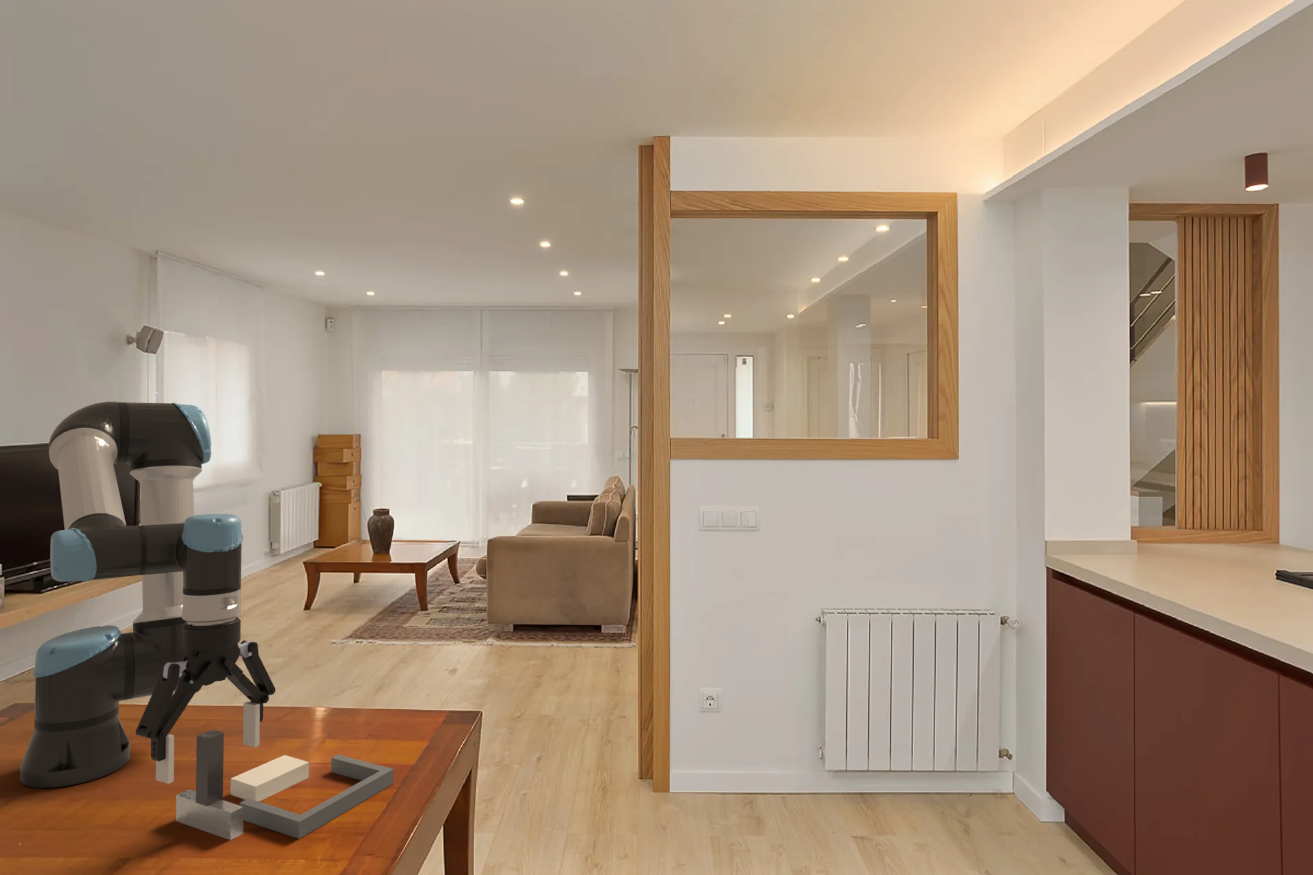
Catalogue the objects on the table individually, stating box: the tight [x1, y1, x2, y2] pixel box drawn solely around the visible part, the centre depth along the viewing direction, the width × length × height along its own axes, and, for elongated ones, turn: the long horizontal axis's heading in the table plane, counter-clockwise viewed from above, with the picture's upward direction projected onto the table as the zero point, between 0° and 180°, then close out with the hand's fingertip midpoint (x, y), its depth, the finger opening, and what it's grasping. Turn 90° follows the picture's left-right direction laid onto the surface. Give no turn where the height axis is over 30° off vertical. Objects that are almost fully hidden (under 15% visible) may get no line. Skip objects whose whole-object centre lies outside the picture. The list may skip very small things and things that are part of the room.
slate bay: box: [239, 754, 395, 840], centre depth 122 cm, size 12×19×2 cm, turn 156°
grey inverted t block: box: [175, 729, 244, 841], centre depth 113 cm, size 12×2×14 cm, turn 66°
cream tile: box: [230, 754, 310, 802], centre depth 126 cm, size 6×10×3 cm, turn 155°
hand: (210, 762), depth 113 cm, fingers open, 13 cm apart
